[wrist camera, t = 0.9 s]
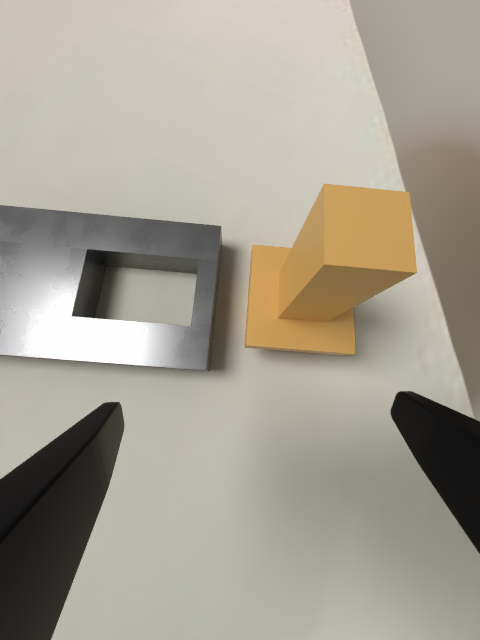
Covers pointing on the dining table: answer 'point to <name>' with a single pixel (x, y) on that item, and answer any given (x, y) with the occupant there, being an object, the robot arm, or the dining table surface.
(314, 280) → the orange post
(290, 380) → the dining table surface
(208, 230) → the grey metal plate
